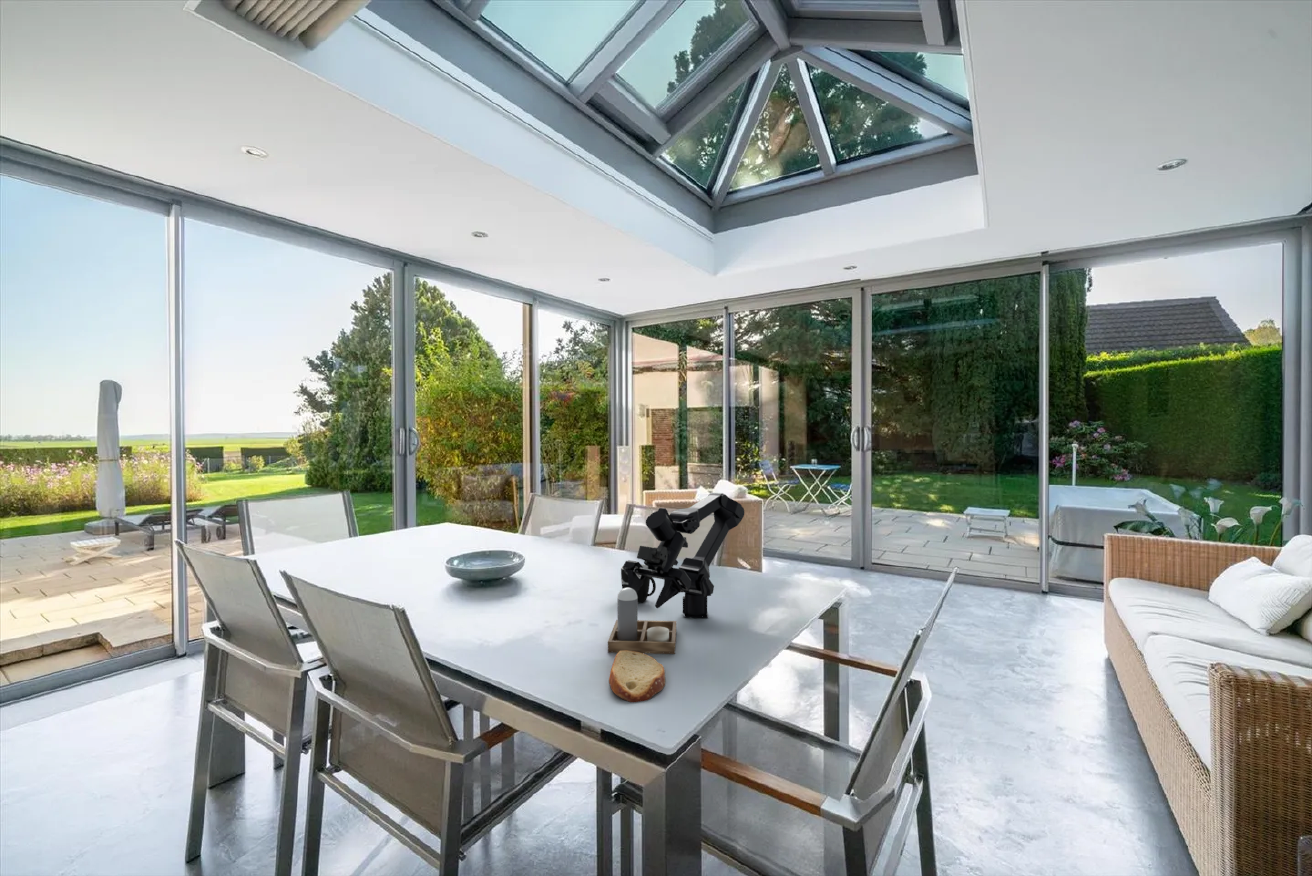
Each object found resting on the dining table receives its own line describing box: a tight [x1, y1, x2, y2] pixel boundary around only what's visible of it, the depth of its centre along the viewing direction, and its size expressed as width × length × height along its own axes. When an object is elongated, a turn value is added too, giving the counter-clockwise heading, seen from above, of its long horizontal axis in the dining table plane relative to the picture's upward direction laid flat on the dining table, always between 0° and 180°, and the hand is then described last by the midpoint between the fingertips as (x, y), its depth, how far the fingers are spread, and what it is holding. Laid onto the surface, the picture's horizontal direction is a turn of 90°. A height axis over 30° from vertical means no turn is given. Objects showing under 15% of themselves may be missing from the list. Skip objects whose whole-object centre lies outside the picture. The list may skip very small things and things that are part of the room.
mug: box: [620, 563, 657, 604], centre depth 173 cm, size 12×9×10 cm
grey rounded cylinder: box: [616, 587, 639, 641], centre depth 136 cm, size 5×5×13 cm
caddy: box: [607, 619, 677, 655], centre depth 139 cm, size 16×16×4 cm
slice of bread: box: [608, 650, 666, 703], centre depth 118 cm, size 18×18×4 cm
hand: (641, 604), depth 140 cm, fingers open, 9 cm apart
